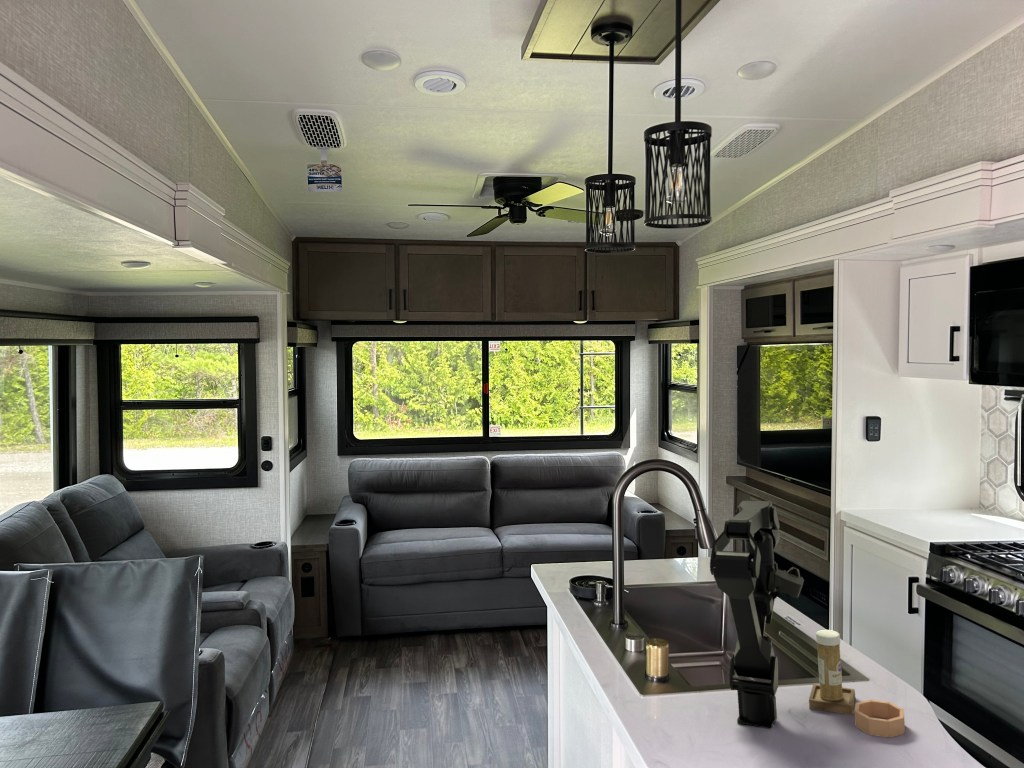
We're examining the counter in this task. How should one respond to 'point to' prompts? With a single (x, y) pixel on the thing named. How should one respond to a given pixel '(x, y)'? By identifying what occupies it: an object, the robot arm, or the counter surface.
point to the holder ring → (876, 725)
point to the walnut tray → (836, 706)
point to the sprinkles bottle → (829, 665)
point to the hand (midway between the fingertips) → (764, 630)
